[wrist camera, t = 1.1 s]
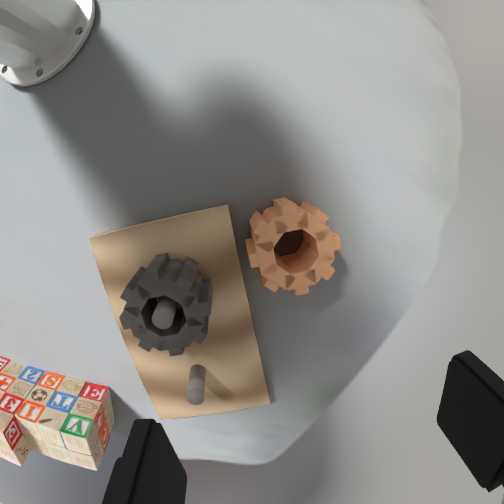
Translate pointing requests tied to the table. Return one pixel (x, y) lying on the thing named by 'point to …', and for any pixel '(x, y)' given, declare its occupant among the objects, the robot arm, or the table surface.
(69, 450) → the stack of blocks
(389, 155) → the table surface
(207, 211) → the gear board
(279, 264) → the loose gear
